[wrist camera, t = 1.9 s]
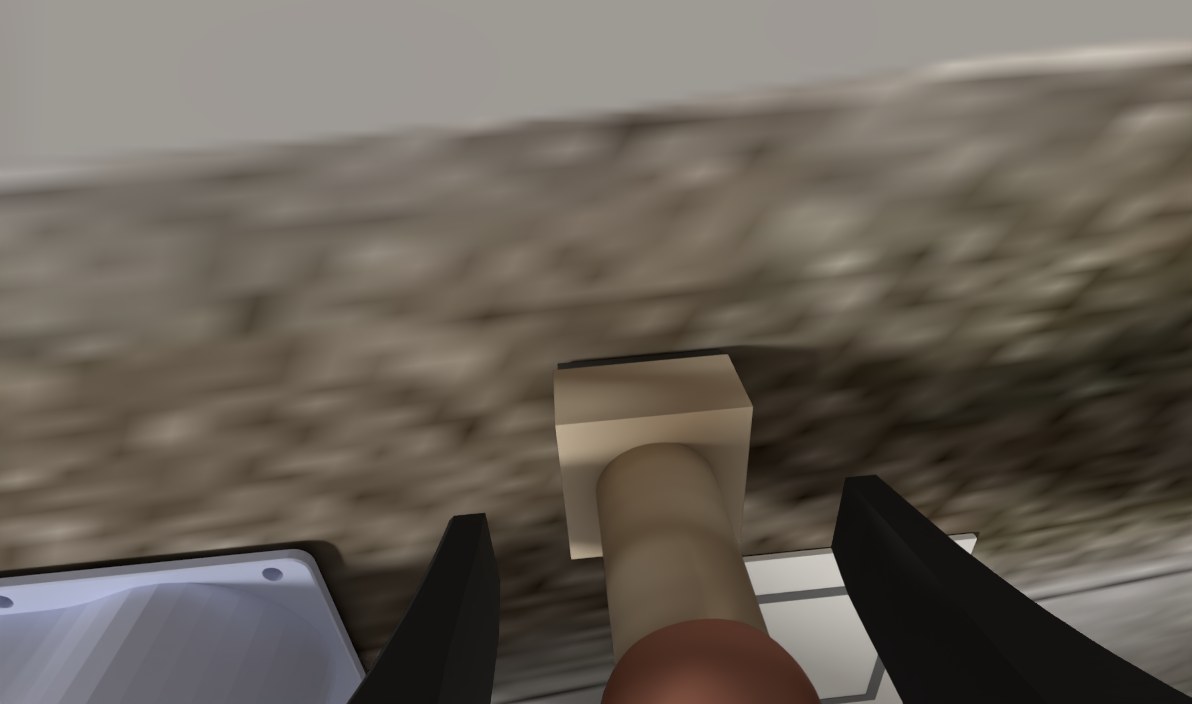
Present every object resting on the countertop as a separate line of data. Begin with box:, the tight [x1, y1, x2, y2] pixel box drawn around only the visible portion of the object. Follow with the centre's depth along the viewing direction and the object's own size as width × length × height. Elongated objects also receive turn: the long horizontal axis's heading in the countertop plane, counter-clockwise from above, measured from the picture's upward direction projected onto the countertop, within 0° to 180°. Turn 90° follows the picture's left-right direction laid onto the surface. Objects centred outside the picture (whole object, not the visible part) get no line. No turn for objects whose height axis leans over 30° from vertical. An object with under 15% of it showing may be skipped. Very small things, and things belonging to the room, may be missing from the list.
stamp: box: [553, 349, 822, 704], centre depth 12 cm, size 4×4×9 cm
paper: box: [743, 533, 977, 704], centre depth 21 cm, size 10×10×1 cm
